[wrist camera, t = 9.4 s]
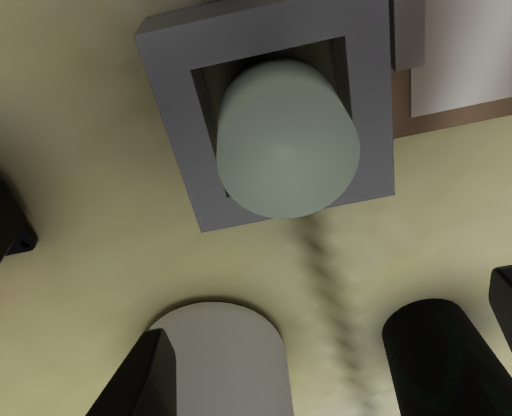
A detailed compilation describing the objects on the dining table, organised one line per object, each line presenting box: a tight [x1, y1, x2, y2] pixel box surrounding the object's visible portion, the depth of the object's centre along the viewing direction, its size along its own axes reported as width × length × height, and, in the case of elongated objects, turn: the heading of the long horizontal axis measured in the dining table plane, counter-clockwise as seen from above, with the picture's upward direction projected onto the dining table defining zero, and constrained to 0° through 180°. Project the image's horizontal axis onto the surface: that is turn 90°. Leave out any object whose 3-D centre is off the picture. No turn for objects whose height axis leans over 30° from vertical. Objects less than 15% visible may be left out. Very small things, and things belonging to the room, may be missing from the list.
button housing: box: [134, 0, 395, 233], centre depth 19 cm, size 9×9×3 cm
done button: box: [216, 58, 360, 219], centre depth 17 cm, size 5×5×4 cm
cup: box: [382, 299, 512, 416], centre depth 25 cm, size 8×8×12 cm
